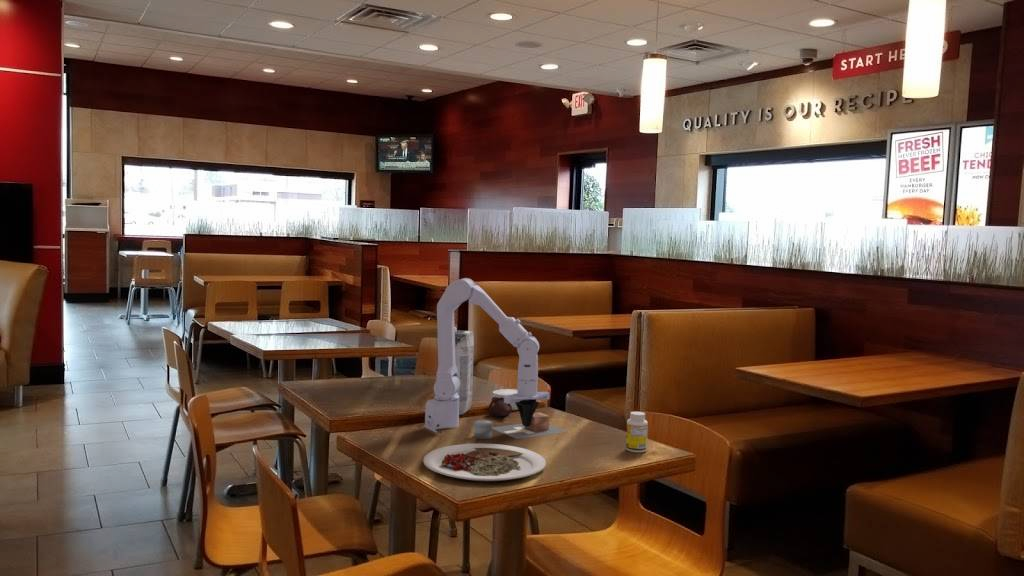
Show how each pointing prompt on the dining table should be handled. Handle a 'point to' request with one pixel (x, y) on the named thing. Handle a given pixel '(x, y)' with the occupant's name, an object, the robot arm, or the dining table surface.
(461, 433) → the dining table surface
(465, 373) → the juice carton
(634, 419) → the supplement bottle
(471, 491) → the dining table surface
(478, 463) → the plated food
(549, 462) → the dining table surface
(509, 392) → the ramekin
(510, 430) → the board
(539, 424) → the terracotta block
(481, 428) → the slate cylinder
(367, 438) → the dining table surface
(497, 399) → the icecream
